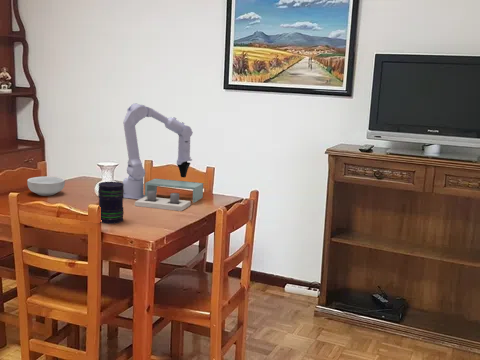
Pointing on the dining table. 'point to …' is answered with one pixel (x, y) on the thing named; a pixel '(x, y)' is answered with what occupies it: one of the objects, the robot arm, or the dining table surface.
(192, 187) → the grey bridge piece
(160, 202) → the grey base plate
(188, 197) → the dining table surface
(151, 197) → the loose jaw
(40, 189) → the cereal bowl
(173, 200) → the block
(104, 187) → the storage jar
